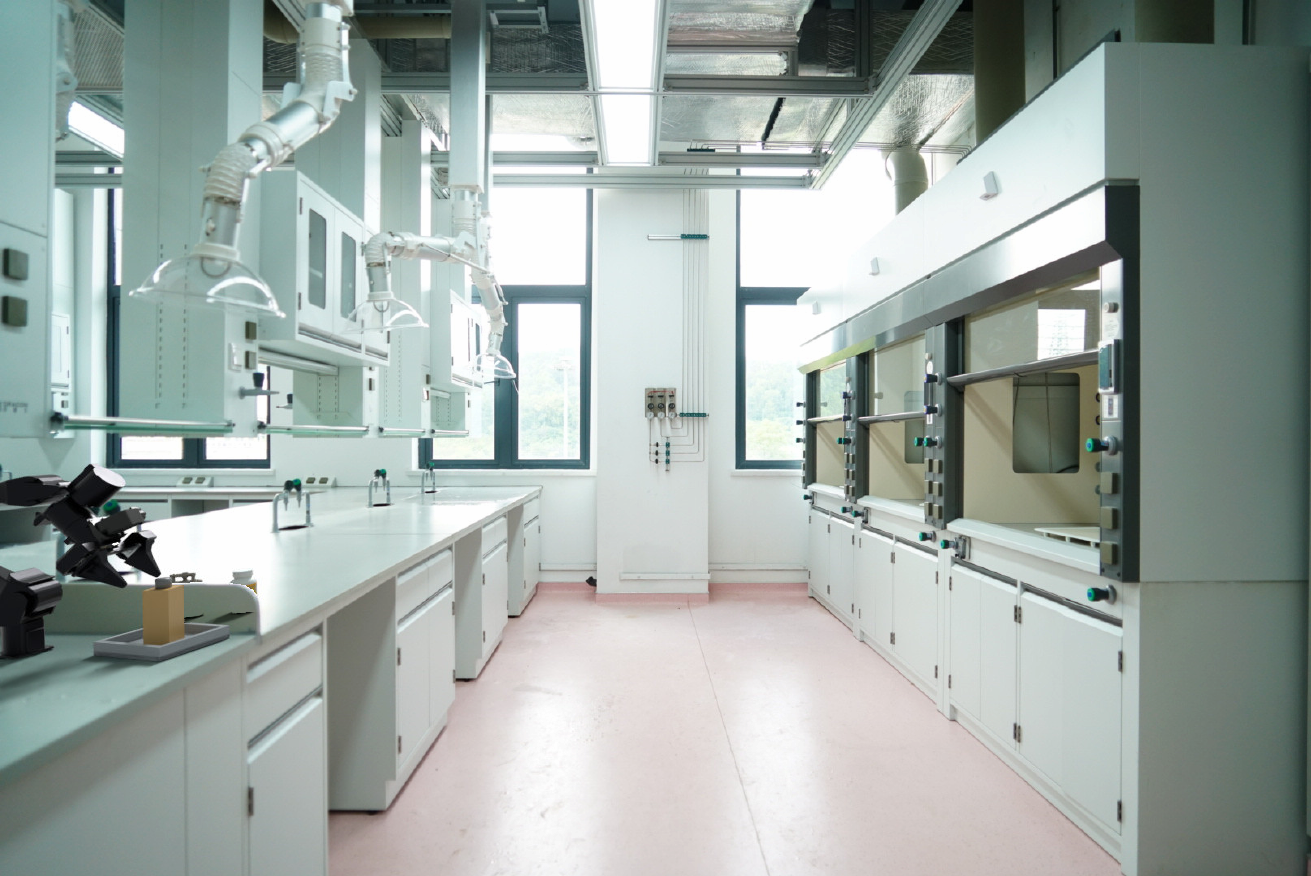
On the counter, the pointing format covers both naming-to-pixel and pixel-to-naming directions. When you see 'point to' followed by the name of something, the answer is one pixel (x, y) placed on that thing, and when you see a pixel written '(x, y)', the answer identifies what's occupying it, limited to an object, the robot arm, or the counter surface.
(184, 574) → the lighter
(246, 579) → the supplement bottle
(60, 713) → the counter surface
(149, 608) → the reagent bottle
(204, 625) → the tray
